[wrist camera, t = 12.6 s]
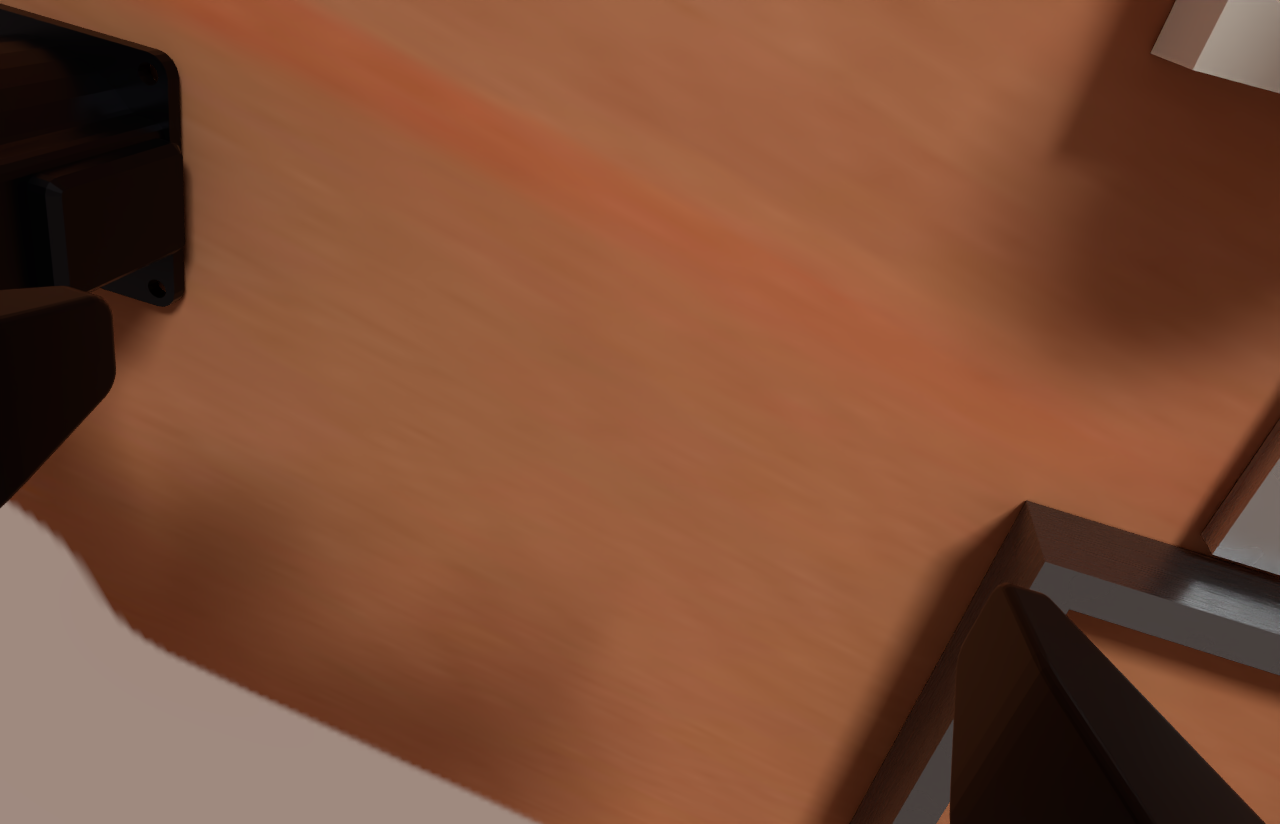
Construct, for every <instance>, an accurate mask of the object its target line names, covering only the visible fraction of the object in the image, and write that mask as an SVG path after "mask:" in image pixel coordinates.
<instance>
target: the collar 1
mask: <svg viewBox="0 0 1280 824" xmlns="http://www.w3.org/2000/svg"><path fill="white" fill-rule="evenodd" d="M1003 583H1011V584H1014V585H1018V586H1021V587H1024V588H1027V589H1030V590H1034V591H1037V592H1040V593H1043V594H1044V595H1046V596H1048V597H1049V598H1050V599H1051V600H1052V601H1053V602H1054V603H1055V604H1056V605H1057V606H1058V607H1059V608H1060V609H1061V610H1062V611H1063V612H1064V613H1065V614H1067V612H1068V611H1069V609H1070V610H1073V611H1076V612H1080V613H1083V614H1086V615H1089V616H1092V617H1095V618H1099V619H1102V620H1105V621H1108V622H1111V623H1114V624H1118V625H1121V626H1124V627H1127V628H1130V629H1134V630H1137V631H1140V632H1143V633H1146V634H1149V635H1153V636H1156V637H1159V638H1162V639H1165V640H1168V641H1172V642H1175V643H1178V644H1181V645H1184V646H1188V647H1191V648H1194V649H1197V650H1200V651H1203V652H1207V653H1210V654H1213V655H1216V656H1219V657H1223V658H1226V659H1229V660H1232V661H1235V662H1238V663H1242V664H1245V665H1248V666H1251V667H1254V668H1257V669H1261V670H1264V671H1267V672H1270V673H1273V674H1277V675H1280V578H1277V577H1274V576H1270V575H1267V574H1264V573H1261V572H1257V571H1254V570H1251V569H1248V568H1244V567H1241V566H1238V565H1235V564H1231V563H1228V562H1225V561H1222V560H1218V559H1215V558H1212V557H1209V556H1205V555H1202V554H1199V553H1196V552H1192V551H1189V550H1186V549H1183V548H1179V547H1176V546H1173V545H1170V544H1166V543H1163V542H1160V541H1157V540H1153V539H1150V538H1147V537H1143V536H1140V535H1137V534H1134V533H1130V532H1127V531H1124V530H1121V529H1117V528H1114V527H1111V526H1108V525H1104V524H1101V523H1098V522H1095V521H1091V520H1088V519H1085V518H1082V517H1078V516H1075V515H1072V514H1069V513H1065V512H1062V511H1059V510H1056V509H1052V508H1049V507H1046V506H1043V505H1039V504H1036V503H1033V502H1030V501H1026V502H1025V504H1024V506H1023V508H1022V510H1021V511H1020V513H1019V515H1018V517H1017V519H1016V521H1015V522H1014V524H1013V526H1012V528H1011V530H1010V532H1009V533H1008V535H1007V537H1006V539H1005V541H1004V543H1003V544H1002V546H1001V548H1000V550H999V552H998V554H997V555H996V557H995V559H994V561H993V563H992V565H991V566H990V568H989V570H988V572H987V574H986V576H985V577H984V579H983V581H982V583H981V585H980V587H979V588H978V590H977V592H976V594H975V596H974V598H973V599H972V601H971V603H970V605H969V607H968V609H967V610H966V612H965V614H964V616H963V618H962V620H961V621H960V623H959V625H958V627H957V629H956V631H955V632H954V634H953V636H952V638H951V640H950V642H949V643H948V645H947V647H946V649H945V651H944V653H943V654H942V656H941V658H940V660H939V662H938V664H937V665H936V667H935V669H934V671H933V673H932V674H931V676H930V678H929V680H928V682H927V684H926V685H925V687H924V689H923V691H922V693H921V695H920V696H919V698H918V700H917V702H916V704H915V706H914V707H913V709H912V711H911V713H910V715H909V717H908V718H907V720H906V722H905V724H904V726H903V728H902V729H901V731H900V733H899V735H898V737H897V739H896V740H895V742H894V744H893V746H892V748H891V750H890V751H889V753H888V755H887V757H886V759H885V761H884V762H883V764H882V766H881V768H880V770H879V772H878V773H877V775H876V777H875V779H874V781H873V783H872V784H871V786H870V788H869V790H868V792H867V794H866V795H865V797H864V799H863V801H862V803H861V805H860V806H859V808H858V810H857V812H856V814H855V816H854V817H853V819H852V821H851V823H850V824H936V823H937V821H938V820H939V818H940V817H941V815H942V813H943V812H944V810H945V809H946V807H947V805H948V804H949V802H950V784H951V763H952V743H953V722H954V702H955V681H956V666H957V661H958V656H959V653H960V650H961V647H962V645H963V643H964V641H965V639H966V638H967V636H968V634H969V632H970V630H971V629H972V627H973V625H974V623H975V621H976V620H977V618H978V616H979V614H980V612H981V611H982V609H983V607H984V605H985V604H986V602H987V600H988V598H989V596H990V595H991V593H992V592H993V590H994V589H995V588H996V587H997V586H998V585H1000V584H1003Z"/></svg>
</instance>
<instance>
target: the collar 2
mask: <svg viewBox="0 0 1280 824" xmlns="http://www.w3.org/2000/svg"><path fill="white" fill-rule="evenodd" d="M1150 54H1153V55H1156V56H1158V57H1161V58H1163V59H1166V60H1168V61H1171V62H1174V63H1176V64H1179V65H1181V66H1184V67H1186V68H1189V69H1191V70H1195V71H1198V72H1202V73H1206V74H1209V75H1213V76H1217V77H1221V78H1224V79H1228V80H1232V81H1235V82H1239V83H1243V84H1247V85H1250V86H1254V87H1258V88H1261V89H1265V90H1269V91H1273V92H1276V93H1280V0H1176V1H1175V3H1174V5H1173V8H1172V10H1171V12H1170V14H1169V16H1168V18H1167V20H1166V22H1165V24H1164V26H1163V28H1162V30H1161V32H1160V34H1159V36H1158V39H1157V41H1156V43H1155V45H1154V47H1153V49H1152V51H1151V53H1150Z"/></svg>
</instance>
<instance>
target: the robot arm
mask: <svg viewBox="0 0 1280 824" xmlns="http://www.w3.org/2000/svg"><path fill="white" fill-rule="evenodd" d="M150 64H151V65H153V66H154V68H155V69H156V71H157V74H158V81H156V80H154V78H153V77H152V76H151V73H150V69H149V68H150ZM184 244H185V237H184V196H183V157H182V153H181V142H180V102H179V76H178V70H177V67H176V66H175V64H174V62H173V60H172V59H171V58H170V57H169V56H168V55H167V54H166V53H164V52H162V51H160V50H158V49H154V48H151V47H147V46H144V45H140V44H137V43H134V42H130V41H127V40H123V39H120V38H116V37H113V36H110V35H106V34H103V33H99V32H96V31H92V30H89V29H85V28H82V27H79V26H75V25H72V24H68V23H65V22H61V21H58V20H55V19H51V18H48V17H44V16H41V15H37V14H34V13H31V12H27V11H24V10H20V9H17V8H13V7H10V6H7V5H3V4H0V508H1V507H2V506H3V505H4V504H5V503H6V502H7V501H8V500H9V499H10V498H11V497H12V496H13V495H14V494H15V493H16V492H17V491H18V490H19V489H20V488H21V487H22V486H23V485H24V484H25V483H26V482H27V481H28V480H29V479H30V478H31V476H32V475H33V474H34V473H35V472H36V471H37V470H38V469H39V468H40V467H41V466H42V465H43V464H44V462H45V461H46V460H47V459H48V458H49V457H50V456H51V455H52V454H53V453H54V452H55V451H56V450H57V448H58V447H59V446H60V445H61V444H62V443H63V442H64V441H65V440H66V439H67V438H68V437H69V435H70V434H71V433H72V432H73V431H74V430H75V429H76V428H77V427H78V426H79V425H80V424H81V423H82V421H83V420H84V419H85V418H86V417H87V416H88V415H89V414H90V413H91V412H92V411H93V410H94V408H95V407H96V406H97V405H98V404H99V403H100V402H101V401H102V400H103V399H104V398H105V397H106V395H107V394H108V393H109V391H110V389H111V387H112V385H113V383H114V380H115V375H116V361H115V347H114V332H113V318H112V311H111V308H110V306H109V304H108V303H107V302H106V301H105V300H104V299H103V298H102V297H100V296H97V295H94V294H91V293H89V292H92V291H94V290H96V289H98V288H102V289H105V290H108V291H112V292H115V293H118V294H121V295H124V296H128V297H131V298H134V299H137V300H140V301H143V302H147V303H150V304H153V305H156V306H162V307H165V306H168V305H170V304H172V303H174V302H176V301H178V300H179V299H180V298H181V297H182V296H183V293H184V262H183V246H184ZM158 281H160V282H161V283H162V284H163V285H164V287H165V290H166V292H165V291H164V290H162V288H161V287H160V286H159V283H158ZM950 824H1265V823H1264V821H1263V820H1262V819H1261V818H1260V817H1259V816H1258V815H1257V814H1256V813H1255V812H1254V811H1253V810H1252V809H1251V808H1250V807H1249V806H1248V805H1247V804H1246V803H1245V802H1244V801H1243V800H1242V799H1241V797H1240V796H1239V795H1238V794H1237V793H1236V792H1235V791H1234V790H1233V789H1232V788H1231V787H1230V786H1229V785H1228V784H1227V783H1226V782H1225V781H1224V780H1223V779H1222V778H1221V777H1220V776H1219V774H1218V773H1217V772H1216V771H1215V770H1214V769H1213V768H1212V767H1211V766H1210V765H1209V764H1208V763H1207V762H1206V761H1205V760H1204V759H1203V758H1202V757H1201V756H1200V755H1199V754H1198V753H1197V751H1196V750H1195V749H1194V748H1193V747H1192V746H1191V745H1190V744H1189V743H1188V742H1187V741H1186V740H1185V739H1184V738H1183V737H1182V736H1181V735H1180V734H1179V733H1178V732H1177V731H1176V730H1175V728H1174V727H1173V726H1172V725H1171V724H1170V723H1169V722H1168V721H1167V720H1166V719H1165V718H1164V717H1163V716H1162V715H1161V714H1160V713H1159V712H1158V711H1157V710H1156V709H1155V708H1154V707H1153V705H1152V704H1151V703H1150V702H1149V701H1148V700H1147V699H1146V698H1145V697H1144V696H1143V695H1142V694H1141V693H1140V692H1139V691H1138V690H1137V689H1136V688H1135V687H1134V686H1133V685H1132V684H1131V682H1130V681H1129V680H1128V679H1127V678H1126V677H1125V676H1124V675H1123V674H1122V673H1121V672H1120V671H1119V670H1118V669H1117V668H1116V667H1115V666H1114V665H1113V664H1112V663H1111V662H1110V661H1109V659H1108V658H1107V657H1106V656H1105V655H1104V654H1103V653H1102V652H1101V651H1100V650H1099V649H1098V648H1097V647H1096V646H1095V645H1094V644H1093V643H1092V642H1091V641H1090V640H1089V639H1088V638H1087V636H1086V635H1085V634H1084V633H1083V632H1082V631H1081V630H1080V629H1079V628H1078V627H1077V626H1076V625H1075V624H1074V623H1073V622H1072V621H1071V620H1070V619H1069V618H1068V617H1067V616H1066V614H1065V613H1064V612H1063V611H1062V610H1061V609H1060V608H1059V607H1058V606H1057V605H1056V604H1055V603H1054V602H1053V601H1052V600H1051V599H1050V598H1049V597H1048V596H1046V595H1044V594H1043V593H1040V592H1037V591H1034V590H1030V589H1027V588H1024V587H1021V586H1018V585H1014V584H1011V583H1003V584H1000V585H998V586H997V587H996V588H995V589H994V590H993V592H992V593H991V595H990V596H989V598H988V600H987V602H986V604H985V605H984V607H983V609H982V611H981V612H980V614H979V616H978V618H977V620H976V621H975V623H974V625H973V627H972V629H971V630H970V632H969V634H968V636H967V638H966V639H965V641H964V643H963V645H962V647H961V650H960V653H959V656H958V661H957V666H956V681H955V702H954V722H953V743H952V763H951V784H950Z"/></svg>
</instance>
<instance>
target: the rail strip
mask: <svg viewBox="0 0 1280 824" xmlns="http://www.w3.org/2000/svg"><path fill="white" fill-rule="evenodd" d="M1201 536H1202V537H1203V539H1204V541H1205V542H1206V544H1207V546H1208V548H1209V549H1210V551H1211V553H1212V554H1213V555H1216V556H1219V557H1222V558H1226V559H1229V560H1232V561H1235V562H1239V563H1242V564H1245V565H1248V566H1252V567H1255V568H1258V569H1261V570H1265V571H1268V572H1271V573H1274V574H1278V575H1280V419H1279V421H1278V422H1277V424H1276V425H1275V427H1274V428H1273V430H1272V431H1271V433H1270V434H1269V435H1268V437H1267V438H1266V440H1265V441H1264V443H1263V444H1262V446H1261V447H1260V449H1259V450H1258V452H1257V453H1256V455H1255V456H1254V457H1253V459H1252V460H1251V462H1250V463H1249V465H1248V466H1247V468H1246V469H1245V471H1244V472H1243V474H1242V475H1241V477H1240V478H1239V480H1238V481H1237V482H1236V484H1235V485H1234V487H1233V488H1232V490H1231V491H1230V493H1229V494H1228V496H1227V497H1226V499H1225V500H1224V502H1223V503H1222V504H1221V506H1220V507H1219V509H1218V510H1217V512H1216V513H1215V515H1214V516H1213V518H1212V519H1211V521H1210V522H1209V524H1208V525H1207V527H1206V528H1205V529H1204V531H1203V532H1202V534H1201Z"/></svg>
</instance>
